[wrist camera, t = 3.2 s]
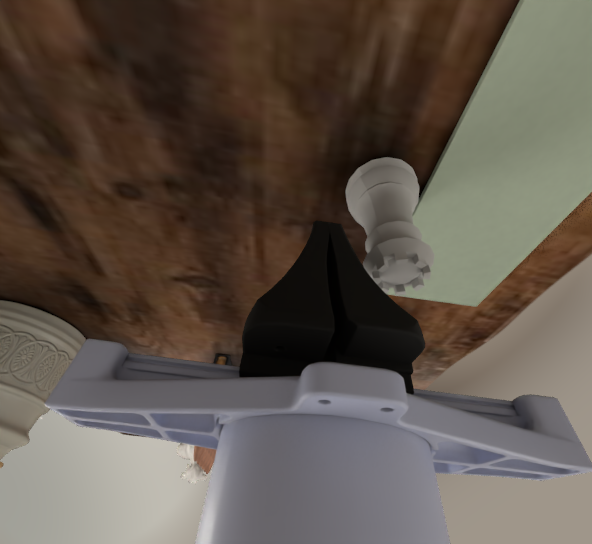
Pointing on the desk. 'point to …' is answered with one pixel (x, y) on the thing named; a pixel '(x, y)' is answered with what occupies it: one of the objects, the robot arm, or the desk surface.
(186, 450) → the white tied sack
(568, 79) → the mat
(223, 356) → the ammunition clip
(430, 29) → the desk surface
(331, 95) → the desk surface
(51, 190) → the desk surface
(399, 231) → the rook chess piece
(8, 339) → the jar
